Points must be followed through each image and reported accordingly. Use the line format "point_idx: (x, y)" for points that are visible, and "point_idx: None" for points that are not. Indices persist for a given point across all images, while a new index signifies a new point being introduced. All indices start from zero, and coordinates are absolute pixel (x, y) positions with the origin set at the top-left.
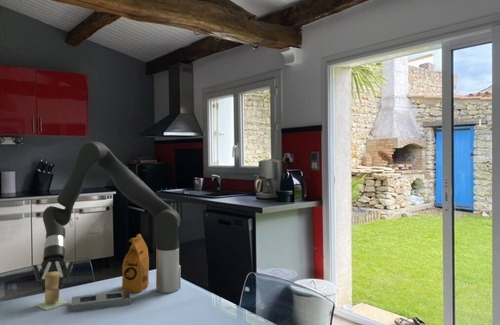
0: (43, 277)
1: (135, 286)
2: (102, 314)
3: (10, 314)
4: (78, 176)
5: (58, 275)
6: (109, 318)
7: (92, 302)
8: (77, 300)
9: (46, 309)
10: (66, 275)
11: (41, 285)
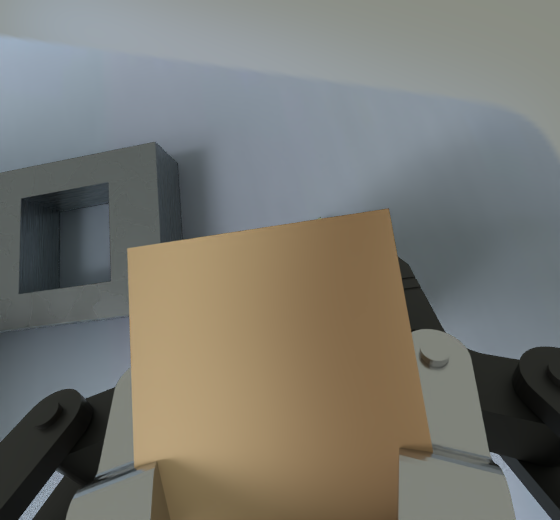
0: (438, 349)
1: None
2: (36, 108)
3: (541, 203)
4: None
5: (147, 253)
6: (12, 58)
7: (41, 166)
8: (124, 222)
9: (319, 218)
10: (68, 389)
11: (412, 279)
